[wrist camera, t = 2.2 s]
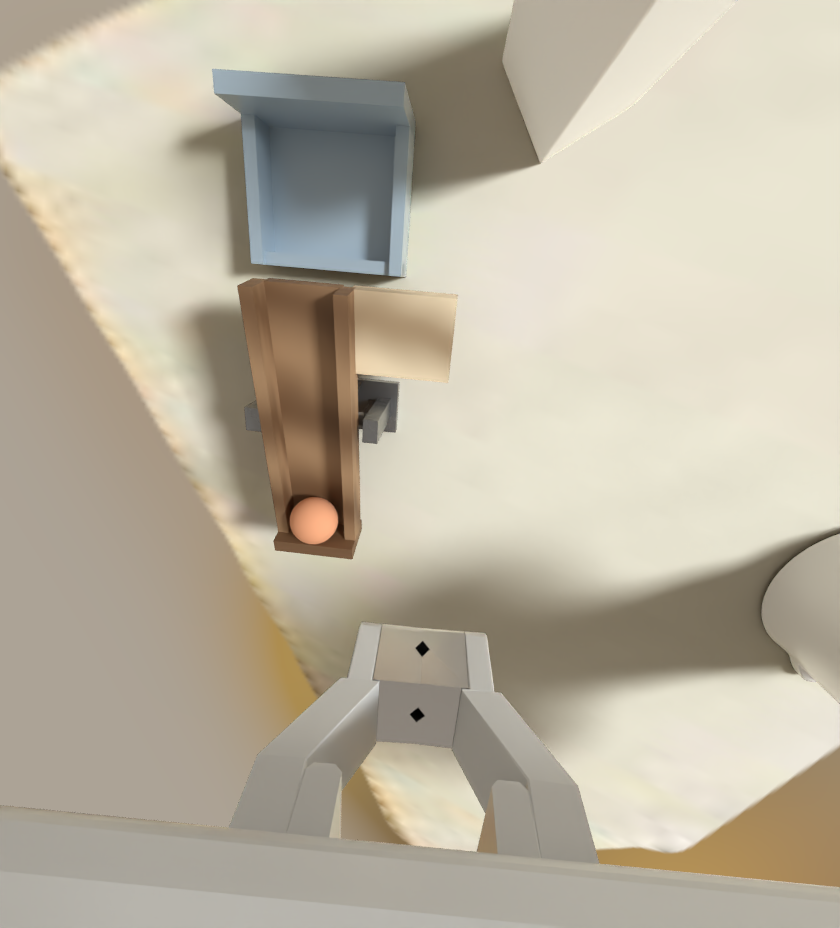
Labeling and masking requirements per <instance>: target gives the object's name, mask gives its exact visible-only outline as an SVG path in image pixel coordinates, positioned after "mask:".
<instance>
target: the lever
mask: <svg viewBox="0 0 840 928" xmlns="http://www.w3.org/2000/svg"><path fill="white" fill-rule="evenodd" d="M237 287H238V293H239V299H240V305H241V311H242V317H243V323H244V329H245V335H246V341H247V347H248V353H249V359H250V365H251V371H252V377H253V383H254V389H255V395H256V401H257V407H258V413H259V419H260V424H261V430H262V436H263V442H264V448H265V454H266V460H267V466H268V472H269V478H270V484H271V490H272V496H273V502H274V508H275V514H276V520H277V526H278V533H277V535H276V537H275V539H274V546H275V550H277V551H286V552H294V553H303V554H311V555H320V556H328V557H337V558H345V559H353V555H354V552H355V549H356V546H357V542H358V539H359V536H360V532H361V529H362V524H361V520H360V476H359V426H360V427H363V419H364V418H365V413H363V412H358V374H364V375H374V376H384V377H394V378H404V379H414V380H424V381H435V382H445V383H448V380H449V370H450V361H451V352H452V343H453V334H454V325H455V315H456V306H457V297H458V295H456V294H445V293H434V292H422V291H411V290H400V289H389V288H378V287H367V286H356V285H354V286H353V287H344V285H341V284H329V283H318V282H307V281H296V280H285V279H274V278H268V279H256V278H252V279H250V280H248V281H246V282H244V283H242V284H240V285H238V286H237ZM309 497H320V498H323V499H326V500H327V501H329V502H330V503H331V504H332V505H333V506H334V508H335V509H336V511H337V515H338V525H337V528H336V531H335V532H334V534H333V535H332V536H331V537H330V538H329V539H328V540H326V541H325V542H323V543H319V544H307V543H304V542H302V541H300V540H299V539H297V538H296V537H295V535H294V534H293V532H292V530H291V527H290V515H291V512H292V510H293V509H294V507H295V506H296V505H297V504H298V503H299V502H300V501H302V500H304V499H306V498H309Z"/></svg>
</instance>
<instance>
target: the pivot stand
mask: <svg viewBox="0 0 840 928" xmlns="http://www.w3.org/2000/svg"><path fill="white" fill-rule="evenodd" d="M398 397H399V382H393V381H383V380H373V379H363V378H358V412H363V413H365V418H364V419H363V427H360V426H359V429H363V439H362V442H364V443H374V444H377V443H378V441H379V439H380V437H381V435H382V433H383V431H386V432H396V429H397V413H398ZM245 419H246V430H251V431H262V430H261V424H260V419H259V413H258V407H257V401H254V402H253V403H251V404H249V405H247V406H246V407H245Z"/></svg>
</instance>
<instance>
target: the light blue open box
mask: <svg viewBox="0 0 840 928" xmlns="http://www.w3.org/2000/svg"><path fill="white" fill-rule="evenodd" d="M212 72H213V83H214V93H215V94H216V95H217V96H219V97H220V98H221V99H222V100H224V101H225V102H226V103H228V104H229V105H230V106H232V107H233V108H234V109H235V110H237V111H238V112H239V113H241V122H242V137H243V151H244V166H245V180H246V195H247V210H248V224H249V239H250V254H251V263H253V264H264V265H275V266H287V267H298V268H309V269H320V270H332V271H343V272H354V273H365V274H376V275H388V276H399V277H406V270H407V254H408V238H409V222H410V206H411V190H412V174H413V158H414V142H415V126H416V121H415V118H414V114H413V110H412V107H411V103H410V99H409V95H408V92H407V88H406V84H405V82H395V81H380V80H366V79H352V78H337V77H323V76H308V75H294V74H280V73H265V72H251V71H236V70H222V69H212Z"/></svg>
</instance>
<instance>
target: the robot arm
mask: <svg viewBox="0 0 840 928" xmlns="http://www.w3.org/2000/svg"><path fill="white" fill-rule="evenodd" d="M761 612H762V621H763V625H764V627H765V630H766V631H767V633H768V635H769V636H770V637H771V638H772V640H774V641H775V642H776V643H777V644H778V645H779V646H781V647H782V648H783V649H784V650H785V651H786V652H787V653H788V654H789V657H790V660H791V664H792V666H793V668H794V670H795V671H796V672H797V673H798V674H799V675H800V676H801V677H802V678H803V679H805V680H806V681H810V682H817V683H818V684H819V685H820V686H821V687H823V688H824V689H825V690H826V691H827V692H828V693H829V694H830V695H831V696H832V697H833V698H834V699H835V700H836V701H837V702H838V703H839V704H840V534H837V535H834V536H832V537H829V538H827V539H824V540H822V541H820V542H818V543H816V544H814V545H812V546H811V547H809V548H807V549H806V550H804V551H803V552H801V553H800V554H798V555H797V556H796V557H794V558H793V559H792V560H791V561H789V562H788V563H787V564H786V565H785V566H784V567H783V568H782V569H781V570H780V571H779V572H778V574H777V575H776V576H775V577H774V579H773V580H772V582H771V583H770V585H769V587H768V589H767V591H766V593H765V596H764V599H763V603H762V611H761ZM376 741H382V742H398V743H413V744H421V745H429V746H437V747H445V748H452V751H453V753H454V755H455V757H456V759H457V761H458V763H459V764H460V766H461V768H462V770H463V772H464V774H465V776H466V778H467V780H468V781H469V783H470V785H471V787H472V789H473V791H474V793H475V795H476V797H477V798H478V800H479V802H480V804H481V806H482V808H483V810H484V812H485V818H484V822H483V827H482V831H481V835H480V840H479V844H478V848H477V852H473V851H463V850H452V849H442V848H432V847H422V846H411V845H401V844H391V843H381V842H370V841H359V840H350V839H341V791H342V789H343V788H344V787H345V786H346V784H347V783H348V781H349V780H350V779H351V777H352V776H353V775H354V773H355V772H356V770H357V769H358V768H359V766H360V765H361V764H362V762H363V761H364V759H365V758H366V757H367V755H368V754H369V753H370V751H371V750H372V748H373V747H374V746H375V744H376ZM0 928H840V887H829V886H820V885H810V884H800V883H790V882H779V881H769V880H759V879H749V878H738V877H728V876H718V875H708V874H698V873H688V872H677V871H667V870H657V869H646V868H637V867H626V866H616V865H606V864H599V861H598V857H597V853H596V850H595V846H594V842H593V839H592V835H591V831H590V828H589V824H588V821H587V817H586V813H585V810H584V806H583V802H582V799H581V795H580V791H579V788H578V785H577V784H576V783H575V782H574V781H573V779H572V778H571V777H570V776H569V775H568V773H567V772H566V771H565V770H564V768H563V767H562V766H561V765H560V764H559V762H558V761H557V760H556V759H555V758H554V756H553V755H552V754H551V753H550V751H549V750H548V749H547V748H546V747H545V745H544V744H543V743H542V742H541V741H540V739H539V738H538V737H537V736H536V735H535V733H534V732H533V731H532V730H531V728H530V727H529V726H528V725H527V724H526V722H525V721H524V720H523V719H522V718H521V716H520V715H519V714H518V713H517V711H516V710H515V709H514V708H513V707H512V705H511V704H510V703H509V702H508V701H507V699H506V698H505V697H504V696H503V695H502V693H499V692H494V684H493V677H492V670H491V663H490V655H489V648H488V641H487V636H486V634H485V633H479V632H466V631H464V632H463V631H452V630H440V629H428V628H417V627H408V626H400V625H391V624H383V625H382V624H378V623H370V622H361V624H360V626H359V630H358V634H357V638H356V642H355V647H354V651H353V655H352V659H351V663H350V668H349V672H348V676H347V678H340V679H339V680H337V681H336V682H335V683H334V684H333V685H332V686H331V687H330V688H329V689H328V690H327V691H326V692H324V693H323V694H322V695H321V696H320V697H319V698H318V699H317V700H316V701H315V702H314V703H313V704H311V705H310V706H309V707H308V708H307V709H306V710H305V711H304V712H303V713H302V714H301V715H300V716H299V717H297V718H296V719H295V720H294V721H293V722H292V723H291V724H290V725H289V726H288V727H287V728H286V729H284V730H283V731H282V732H281V733H280V734H279V735H278V736H277V737H276V738H275V739H274V740H272V741H271V742H270V743H269V744H268V745H267V746H266V747H265V748H264V749H263V750H262V751H260V752H259V753H258V754H257V757H256V760H255V762H254V765H253V767H252V770H251V772H250V775H249V777H248V780H247V782H246V785H245V787H244V790H243V792H242V795H241V798H240V800H239V802H238V805H237V808H236V810H235V813H234V815H233V818H232V820H231V823H230V825H229V828H227V827H217V826H207V825H196V824H187V823H177V822H166V821H156V820H145V819H136V818H126V817H116V816H106V815H94V814H85V813H75V812H65V811H55V810H45V809H35V808H25V807H14V806H4V805H0Z"/></svg>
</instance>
